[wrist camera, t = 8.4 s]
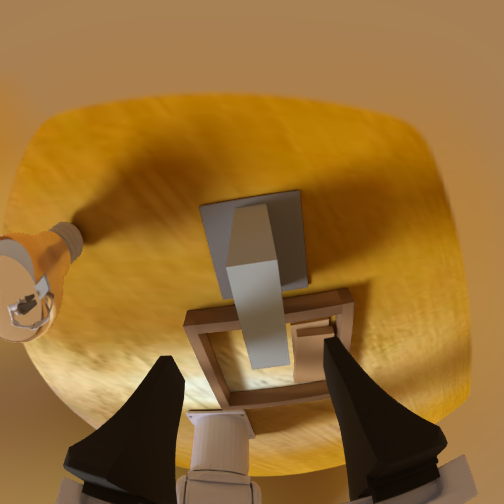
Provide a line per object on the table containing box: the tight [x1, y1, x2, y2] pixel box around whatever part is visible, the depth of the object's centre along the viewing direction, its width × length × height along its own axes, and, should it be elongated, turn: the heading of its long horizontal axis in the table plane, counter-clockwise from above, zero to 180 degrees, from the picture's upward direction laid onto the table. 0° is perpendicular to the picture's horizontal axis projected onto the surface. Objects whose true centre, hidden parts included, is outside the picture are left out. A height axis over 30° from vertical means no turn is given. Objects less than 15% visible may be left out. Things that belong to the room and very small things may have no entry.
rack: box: [183, 288, 354, 411], centre depth 25 cm, size 14×14×2 cm
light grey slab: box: [226, 204, 290, 369], centre depth 17 cm, size 7×2×8 cm, turn 9°
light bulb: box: [0, 222, 83, 343], centre depth 14 cm, size 7×7×12 cm
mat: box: [199, 190, 308, 299], centre depth 21 cm, size 8×7×1 cm
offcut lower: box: [290, 317, 329, 359], centre depth 26 cm, size 8×4×1 cm, turn 9°
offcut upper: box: [293, 326, 334, 383], centre depth 25 cm, size 7×3×1 cm, turn 4°
